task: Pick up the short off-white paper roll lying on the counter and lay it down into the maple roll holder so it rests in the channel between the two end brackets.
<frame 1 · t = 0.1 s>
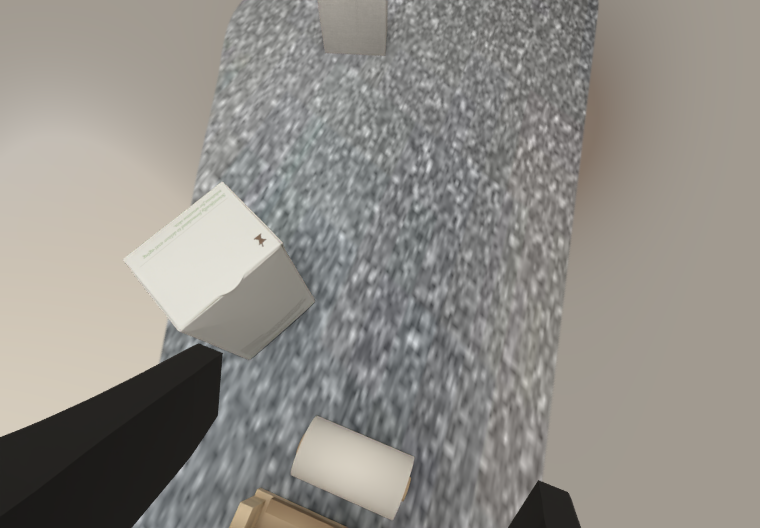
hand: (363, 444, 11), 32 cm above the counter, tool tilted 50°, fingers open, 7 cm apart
tea bag: (356, 43, 55), on the counter
skincare box: (263, 310, 45), on the counter
paper roll: (353, 466, 38), point 2 cm above the counter
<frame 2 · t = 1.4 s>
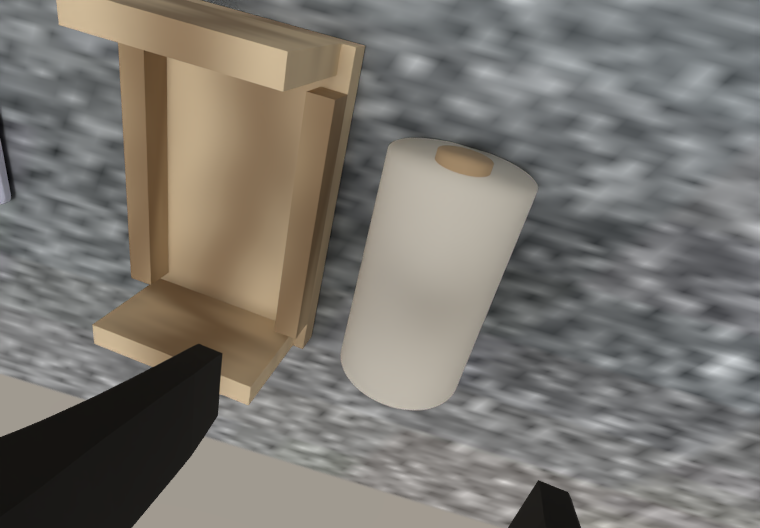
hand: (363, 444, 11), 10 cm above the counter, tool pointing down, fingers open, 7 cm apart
holder: (245, 186, 20), on the counter
paper roll: (427, 276, 17), point 2 cm above the counter
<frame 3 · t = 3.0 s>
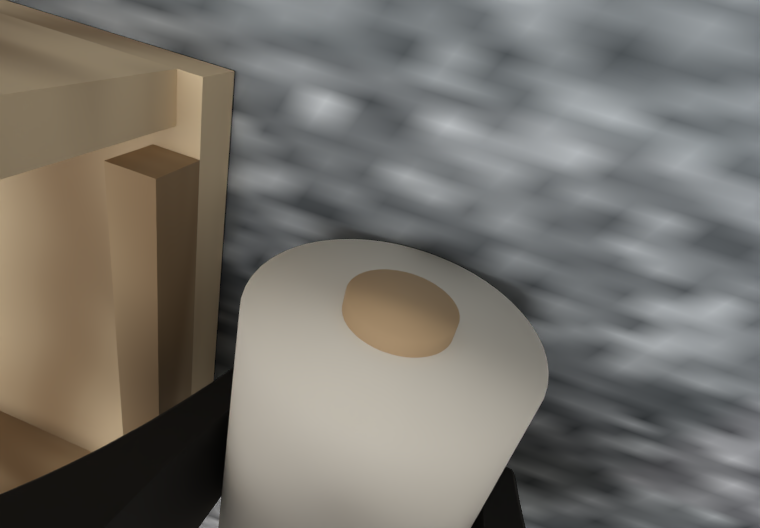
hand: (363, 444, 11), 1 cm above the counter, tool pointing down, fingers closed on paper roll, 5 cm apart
holder: (83, 282, 13), on the counter
paper roll: (347, 480, 10), point 2 cm above the counter, touching gripper
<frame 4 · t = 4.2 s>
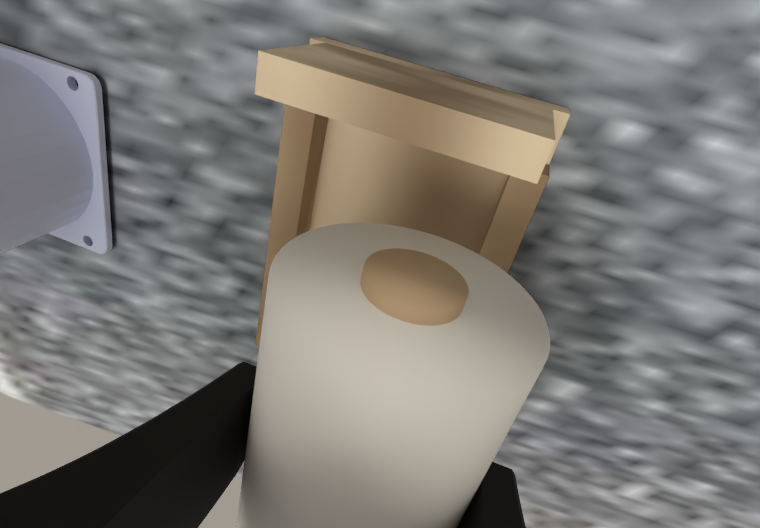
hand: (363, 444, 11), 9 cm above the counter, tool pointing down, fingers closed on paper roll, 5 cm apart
holder: (392, 249, 18), on the counter
paper roll: (361, 449, 10), point 9 cm above the counter, tilted 11°, touching gripper
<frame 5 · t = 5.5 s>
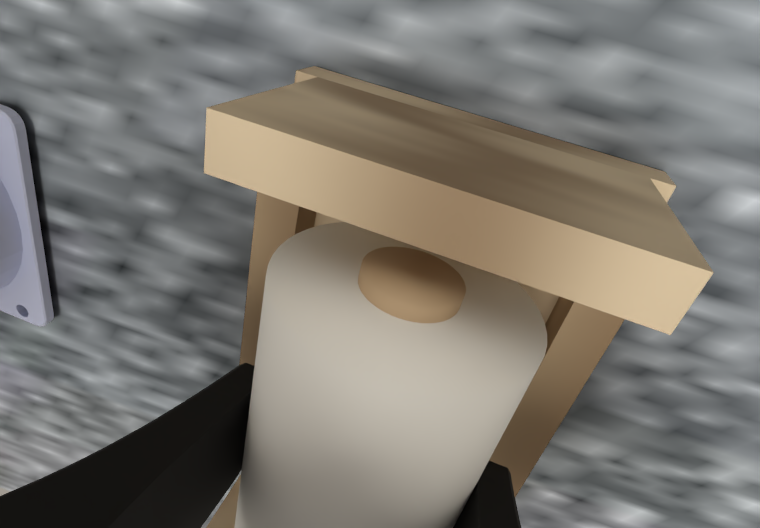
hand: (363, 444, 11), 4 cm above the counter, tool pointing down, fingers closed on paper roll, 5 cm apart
holder: (406, 339, 14), on the counter
paper roll: (360, 447, 10), point 4 cm above the counter, tilted 12°, touching gripper
when the fingers open (4 cm above the counter, at t = 5.8 s): paper roll moves 1 cm, resting on holder.
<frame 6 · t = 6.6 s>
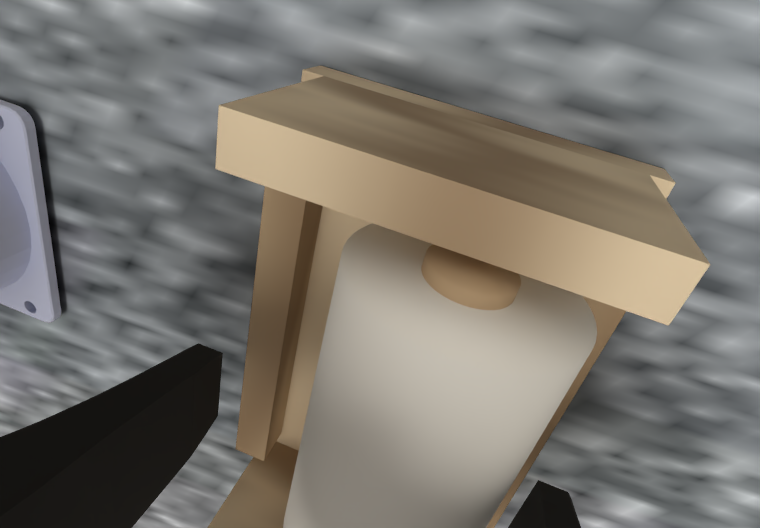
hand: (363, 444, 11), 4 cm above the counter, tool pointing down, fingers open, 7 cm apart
holder: (410, 334, 14), on the counter
paper roll: (410, 429, 11), point 3 cm above the counter, tilted 9°, touching holder
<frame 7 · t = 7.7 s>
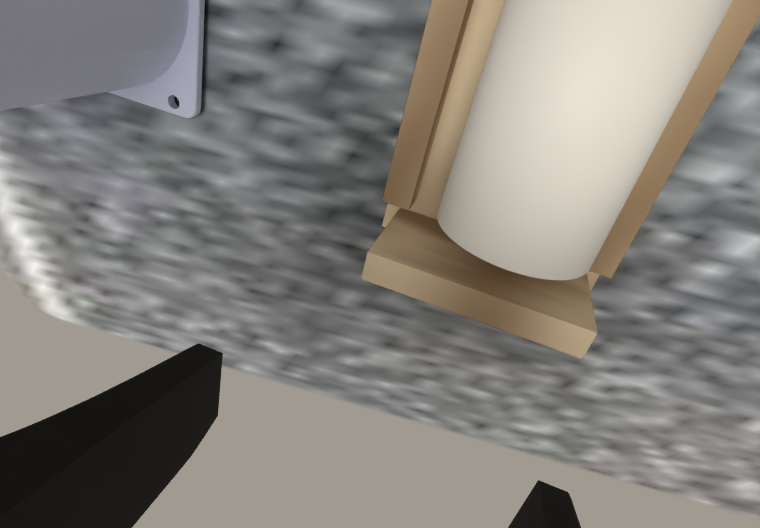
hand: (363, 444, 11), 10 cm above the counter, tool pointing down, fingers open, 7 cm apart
holder: (550, 78, 16), on the counter
paper roll: (570, 96, 13), point 3 cm above the counter, touching holder
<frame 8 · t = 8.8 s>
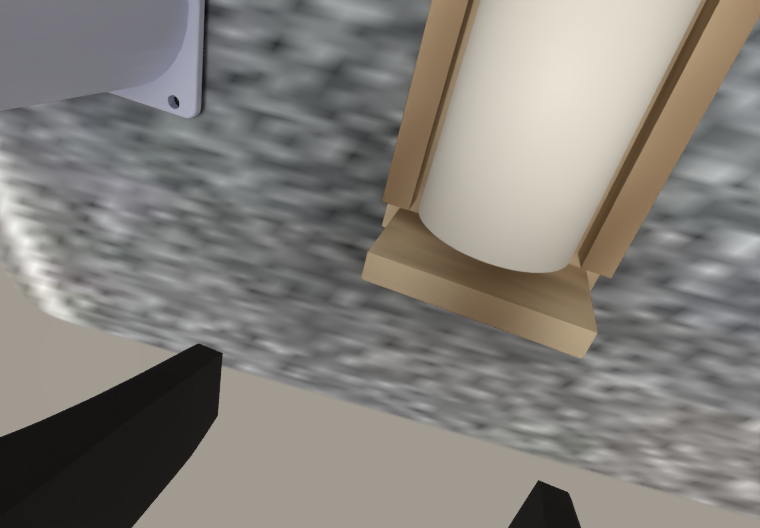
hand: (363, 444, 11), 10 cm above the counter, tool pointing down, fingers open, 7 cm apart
holder: (550, 78, 16), on the counter
paper roll: (548, 90, 13), point 3 cm above the counter, tilted 14°, touching holder
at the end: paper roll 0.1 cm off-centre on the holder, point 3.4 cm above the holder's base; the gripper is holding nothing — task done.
